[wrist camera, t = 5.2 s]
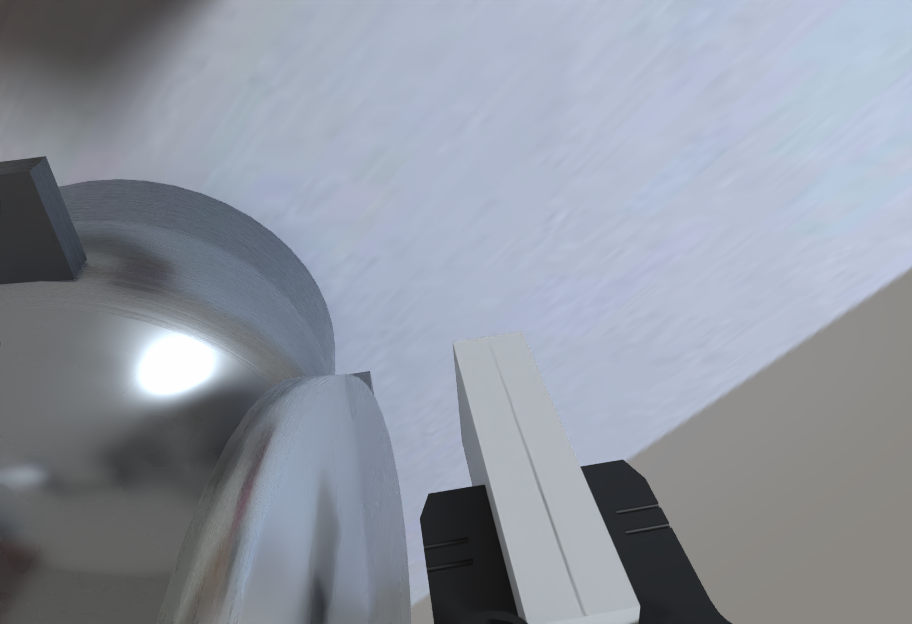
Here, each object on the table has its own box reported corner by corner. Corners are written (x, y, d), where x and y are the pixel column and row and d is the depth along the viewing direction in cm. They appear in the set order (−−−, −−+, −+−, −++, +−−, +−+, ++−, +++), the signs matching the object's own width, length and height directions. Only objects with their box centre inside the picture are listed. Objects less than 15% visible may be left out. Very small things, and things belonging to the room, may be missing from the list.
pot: (60, 549, 29) (-21, 747, 22) (-179, 127, 20) (-447, 248, 13) (398, 490, 30) (419, 660, 24) (327, 69, 21) (325, 151, 14)
